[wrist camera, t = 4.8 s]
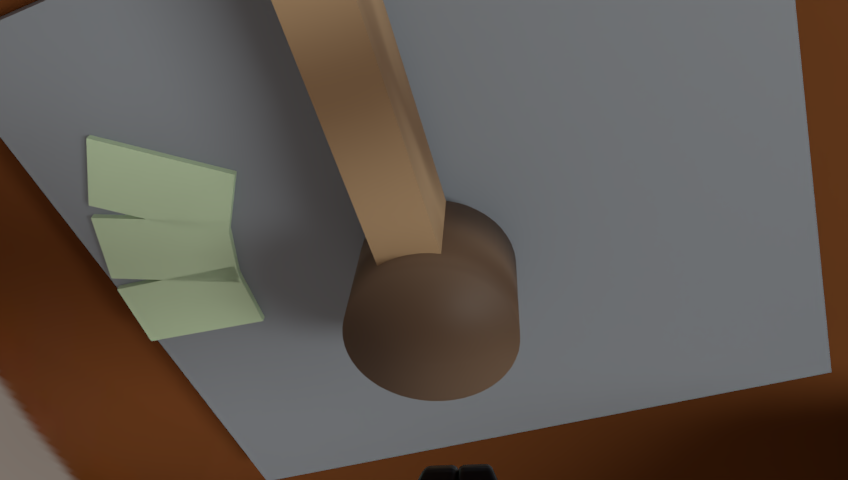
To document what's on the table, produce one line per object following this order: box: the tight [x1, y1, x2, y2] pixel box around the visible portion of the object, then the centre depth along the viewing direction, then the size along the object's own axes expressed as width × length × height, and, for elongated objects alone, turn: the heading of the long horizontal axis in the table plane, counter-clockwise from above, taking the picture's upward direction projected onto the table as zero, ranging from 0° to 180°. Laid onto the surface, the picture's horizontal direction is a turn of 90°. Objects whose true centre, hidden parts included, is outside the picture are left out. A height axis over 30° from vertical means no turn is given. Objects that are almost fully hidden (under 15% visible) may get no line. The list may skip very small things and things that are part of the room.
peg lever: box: [271, 0, 520, 401], centre depth 16 cm, size 14×4×3 cm, turn 16°
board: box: [0, 0, 831, 480], centre depth 20 cm, size 18×20×1 cm
